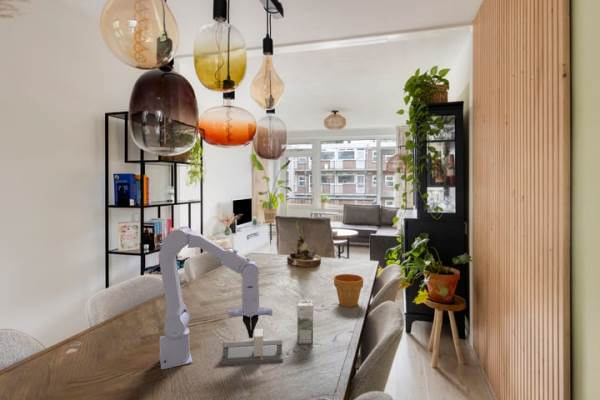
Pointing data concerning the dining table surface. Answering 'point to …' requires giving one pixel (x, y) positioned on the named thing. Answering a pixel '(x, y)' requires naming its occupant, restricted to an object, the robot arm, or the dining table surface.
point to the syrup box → (305, 322)
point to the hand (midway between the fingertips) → (251, 336)
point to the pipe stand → (251, 352)
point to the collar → (258, 342)
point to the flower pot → (348, 289)
